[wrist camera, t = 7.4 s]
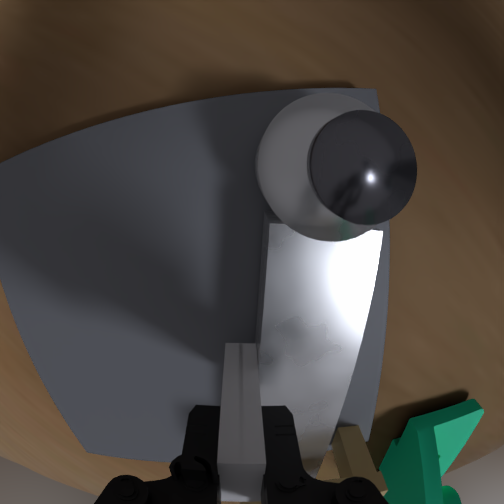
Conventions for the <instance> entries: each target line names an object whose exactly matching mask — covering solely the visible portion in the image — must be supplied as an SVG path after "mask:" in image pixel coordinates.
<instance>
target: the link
mask: <svg viewBox="0 0 504 504" xmlns="http://www.w3.org/2000/svg"><path fill="white" fill-rule="evenodd" d="M255 174H256V179H257V183H258V186H259V188H260V191H261V193H262V194H263V196H264V198H265V199H266V201H267V203H268V204H269V206H270V207H271V209H272V210H273V211H266V210H264V220H263V236H262V251H261V265H260V280H259V294H258V309H257V322H256V336H255V343H256V349H257V361H258V373H259V385H260V397H261V406H283V405H286V407H287V408H288V409H289V410H290V412H291V413H292V414H293V419H294V424H295V429H296V435H297V439H298V444H299V449H300V454H301V460H302V465H303V467H304V470H305V471H306V472H307V474H309V475H310V476H311V477H313V478H316V476H317V473H318V471H319V468H320V466H321V464H322V461H323V459H324V456H325V454H326V451H327V449H328V446H329V443H330V441H331V438H332V435H333V433H334V430H335V427H336V424H337V421H338V419H339V416H340V413H341V410H342V407H343V404H344V401H345V397H346V394H347V391H348V388H349V385H350V381H351V378H352V375H353V371H354V368H355V364H356V360H357V357H358V353H359V349H360V345H361V342H362V338H363V334H364V329H365V325H366V321H367V317H368V312H369V308H370V303H371V298H372V293H373V288H374V283H375V278H376V272H377V267H378V261H379V255H380V249H381V242H382V235H383V231H382V230H380V229H378V228H376V227H375V226H376V225H378V224H379V223H383V222H385V221H387V220H389V219H391V218H393V217H394V216H396V215H397V214H398V213H399V212H400V211H401V210H402V209H403V208H404V207H405V205H406V204H407V203H408V201H409V199H410V197H411V196H412V193H413V190H414V187H415V183H416V177H417V164H416V157H415V153H414V150H413V147H412V145H411V143H410V140H409V139H408V137H407V136H406V134H405V133H404V131H403V130H402V129H401V128H400V127H399V126H398V125H397V124H396V123H395V122H394V121H392V120H391V119H390V118H388V117H386V116H385V115H382V114H380V113H377V112H375V111H374V110H373V109H372V108H370V107H369V106H368V105H366V104H365V103H363V102H361V101H359V100H357V99H355V98H352V97H350V96H347V95H342V94H337V93H317V94H311V95H308V96H305V97H302V98H299V99H297V100H295V101H293V102H292V103H290V104H289V105H287V106H286V107H284V108H283V109H282V110H281V111H280V112H279V113H278V114H277V115H276V116H275V117H274V119H273V120H272V121H271V123H270V124H269V126H268V128H267V129H266V131H265V133H264V135H263V136H262V138H261V140H260V143H259V145H258V148H257V152H256V157H255Z"/></svg>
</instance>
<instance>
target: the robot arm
mask: <svg viewBox="0 0 504 504" xmlns="http://www.w3.org/2000/svg"><path fill="white" fill-rule="evenodd" d="M185 433H186V434H185V438H184V444H183V449H182V455H179V456H177V457H176V458H175V459H174V460H172V462H171V464H170V466H169V468H170V472H171V475H172V476H170V477H168V478H166V479H162V480H156V481H147V482H143V481H142V480H141V479H139V478H138V477H135V476H131V475H120V476H118V477H115V478H113V479H112V480H111V481H110V482H109V483H108V484H107V486H106V487H105V489H104V490H103V492H102V493H101V494H100V496H99V497H98V499H97V500H96V502H95V503H94V504H221V501H238V502H254V501H261V504H389V503H388V502H387V501H386V499H385V498H384V497H383V495H382V494H381V493H380V491H379V490H378V488H377V487H376V486H375V484H373V483H372V482H371V481H370V480H369V479H366V478H364V477H356V476H354V477H350V478H346V479H345V480H343V481H341V482H340V483H334V482H326V481H321V480H317V479H315V478H313V477H311V476H310V475H309V474H307V472H306V471H305V470H304V467H303V465H302V460H301V454H300V449H299V444H298V439H297V435H296V429H295V424H294V419H293V414H292V413H291V412H290V410H289V409H288V408H287V407H286V405H283V406H261V397H260V385H259V373H258V361H257V349H256V343H226V344H225V356H224V369H223V382H222V396H221V406H210V405H195V406H194V408H193V409H192V410H191V411H190V413H189V415H188V421H187V427H186V432H185Z"/></svg>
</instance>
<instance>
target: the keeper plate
mask: <svg viewBox="0 0 504 504" xmlns="http://www.w3.org/2000/svg"><path fill="white" fill-rule="evenodd" d="M317 93H337V94H342V95H347V96H350V97H352V98H355V99H357V100H359V101H361V102H363V103H365V104H366V105H368V106H369V107H370V108H372V109H373V110H374V111H375V112H377V113H380V110H379V103H378V97H377V91H376V89H366V88H311V89H290V90H276V91H264V92H254V93H245V94H237V95H229V96H222V97H215V98H209V99H203V100H197V101H192V102H186V103H181V104H176V105H171V106H167V107H162V108H157V109H153V110H149V111H145V112H141V113H137V114H133V115H129V116H125V117H122V118H118V119H115V120H111V121H108V122H105V123H101V124H98V125H95V126H92V127H89V128H86V129H83V130H80V131H77V132H74V133H71V134H68V135H65V136H63V137H60V138H57V139H55V140H52V141H50V142H47V143H45V144H42V145H40V146H37V147H35V148H32V149H30V150H28V151H25V152H23V153H21V154H19V155H16V156H14V157H12V158H10V159H8V160H6V161H4V162H2V163H0V279H1V282H2V286H3V289H4V292H5V295H6V298H7V301H8V304H9V307H10V309H11V312H12V315H13V317H14V320H15V323H16V325H17V328H18V330H19V332H20V335H21V337H22V340H23V342H24V344H25V346H26V349H27V351H28V353H29V355H30V357H31V359H32V362H33V364H34V366H35V368H36V370H37V372H38V374H39V376H40V378H41V379H42V381H43V383H44V385H45V387H46V389H47V391H48V392H49V394H50V396H51V398H52V399H53V401H54V403H55V405H56V406H57V408H58V410H59V411H60V413H61V414H62V416H63V418H64V419H65V421H66V422H67V424H68V425H69V427H70V429H71V430H72V432H73V433H74V434H75V436H76V437H77V439H78V440H79V442H80V443H81V445H82V446H83V447H84V449H85V450H86V451H87V452H88V453H93V454H99V455H105V456H112V457H119V458H127V459H135V460H146V461H158V462H172V460H174V459H175V458H176V457H177V456H179V455H182V449H183V444H184V438H185V434H186V433H185V432H186V427H187V421H188V415H189V413H190V411H191V410H192V409H193V408H194V406H195V405H210V406H221V396H222V382H223V369H224V356H225V344H226V343H255V336H256V322H257V309H258V294H259V280H260V265H261V251H262V236H263V220H264V210H266V211H273V210H272V209H271V207H270V206H269V204H268V203H267V201H266V199H265V198H264V196H263V194H262V193H261V191H260V188H259V186H258V183H257V179H256V174H255V157H256V152H257V148H258V145H259V143H260V140H261V138H262V136H263V135H264V133H265V131H266V129H267V128H268V126H269V124H270V123H271V121H272V120H273V119H274V117H275V116H276V115H277V114H278V113H279V112H280V111H281V110H282V109H283V108H284V107H286V106H287V105H289V104H290V103H292V102H293V101H295V100H297V99H299V98H302V97H305V96H308V95H311V94H317ZM375 227H376V228H378V229H380V230H382V231H383V235H382V242H381V249H380V255H379V261H378V267H377V272H376V278H375V283H374V288H373V293H372V298H371V303H370V308H369V312H368V317H367V321H366V325H365V329H364V334H363V338H362V342H361V345H360V349H359V353H358V357H357V360H356V364H355V368H354V371H353V375H352V378H351V381H350V385H349V388H348V391H347V394H346V397H345V401H344V404H343V407H342V410H341V413H340V416H339V419H338V421H337V424H336V427H335V430H334V433H333V435H332V438H331V441H330V443H329V446H328V449H327V451H328V450H333V453H334V457H335V460H336V464H337V467H338V471H339V475H340V478H339V479H332V480H324V481H326V482H334V483H340V482H341V481H343V480H345V479H346V478H350V477H354V476H356V477H364V478H366V479H369V480H370V481H371V482H372V483H373V484H375V486H376V487H377V488H378V490H379V491H380V493H381V494H382V495H383V496H384V495H385V494H386V492H387V491H388V488H387V485H386V483H385V480H384V478H383V475H382V473H381V471H378V472H377V471H376V468H375V466H374V463H373V461H372V458H371V455H370V453H369V450H368V448H367V445H366V443H365V442H367V441H369V436H370V432H371V427H372V422H373V417H374V412H375V407H376V401H377V395H378V389H379V382H380V376H381V368H382V361H383V352H384V343H385V333H386V322H387V309H388V291H389V260H390V231H389V220H387V221H385V222H383V223H379V224H378V225H376V226H375ZM240 504H261V501H254V502H240Z"/></svg>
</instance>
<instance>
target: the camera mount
mask: <svg viewBox="0 0 504 504" xmlns="http://www.w3.org/2000/svg"><path fill="white" fill-rule="evenodd" d="M483 413H484V410H483V409H482V407H481V406H480V405H479V404H478V402H477V401H476V400H475V399H470V400H467V401H464V402H462V403H459V404H456V405H453V406H450V407H447V408H444V409H441V410H437V411H434V412H431V413H427V414H424V415H420V416H417V417H413V418H410V419H409V421H408V423H407V426H406V428H405V430H404V432H403V434H402V436H401V438H397V439H393V440H392V442H391V445H390V447H389V449H388V451H387V453H386V455H385V457H384V459H383V461H382V463H381V465H380V467H379V470H380V471H381V473H382V475H383V478H384V480H385V483H386V485H387V488H388V491H387V492H386V494H385V495H384V496H383V497H384V498H385V499H386V501H387V502H388V503H389V504H461V500H460V498H459V495H458V493H457V492H456V490H455V489H453V488H452V487H450V486H442V484H441V477H442V476H443V474H444V473H445V472H446V470H447V469H448V468H449V466H450V465H451V464H452V462H453V461H454V459H455V458H456V456H457V455H458V454H459V452H460V451H461V449H462V448H463V446H464V445H465V443H466V442H467V440H468V438H469V437H470V435H471V434H472V432H473V430H474V429H475V427H476V425H477V424H478V422H479V420H480V419H481V417H482V415H483Z"/></svg>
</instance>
